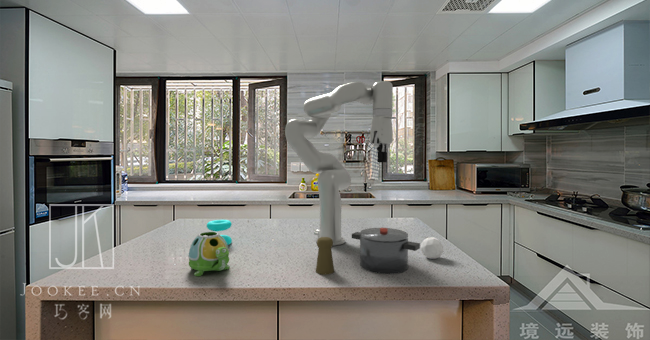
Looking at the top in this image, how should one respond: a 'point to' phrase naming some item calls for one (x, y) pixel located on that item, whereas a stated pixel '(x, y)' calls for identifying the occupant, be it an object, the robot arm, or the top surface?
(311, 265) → the top surface
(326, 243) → the cork
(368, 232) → the lid
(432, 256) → the geometric ball
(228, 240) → the turquoise spool shape
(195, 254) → the turtle holder
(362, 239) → the pot
